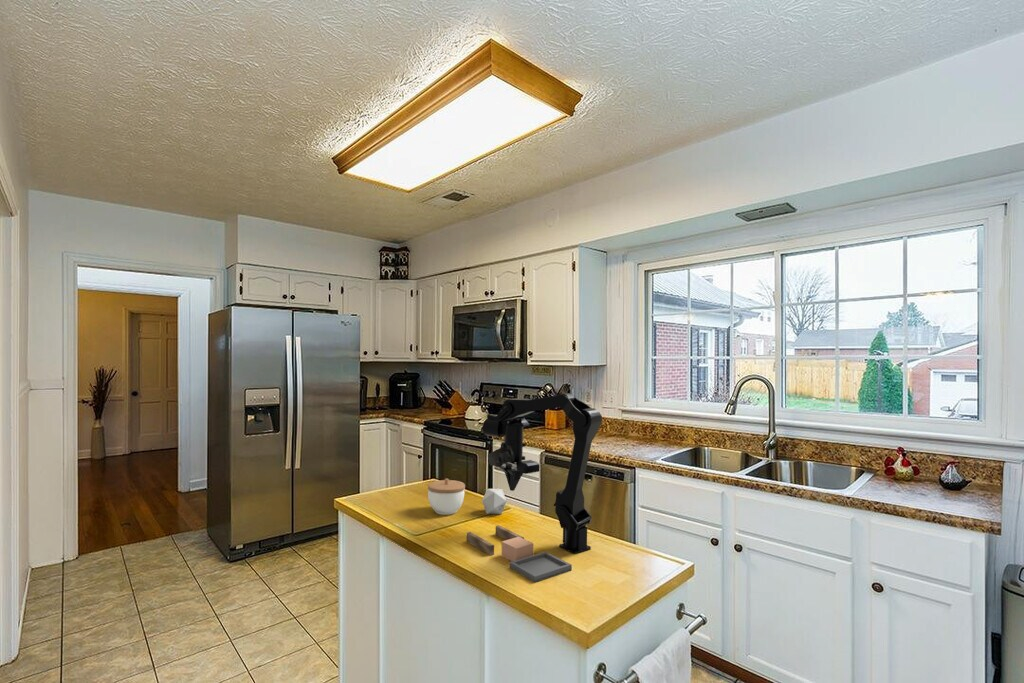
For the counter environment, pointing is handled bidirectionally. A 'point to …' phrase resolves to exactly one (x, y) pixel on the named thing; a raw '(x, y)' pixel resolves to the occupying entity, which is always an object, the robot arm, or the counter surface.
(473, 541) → the corridor rails
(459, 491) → the lidded bowl
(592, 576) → the counter surface
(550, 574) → the tray
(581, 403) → the robot arm
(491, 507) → the die
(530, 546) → the block
